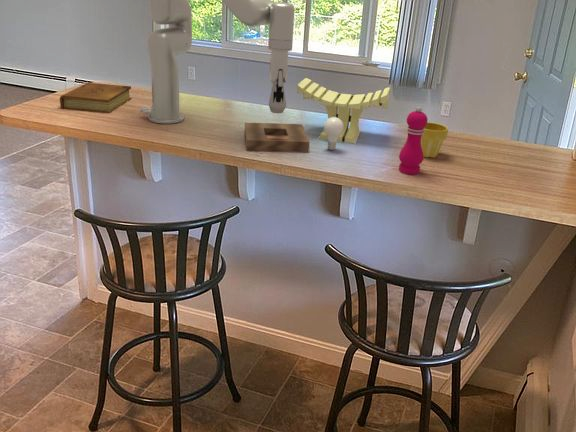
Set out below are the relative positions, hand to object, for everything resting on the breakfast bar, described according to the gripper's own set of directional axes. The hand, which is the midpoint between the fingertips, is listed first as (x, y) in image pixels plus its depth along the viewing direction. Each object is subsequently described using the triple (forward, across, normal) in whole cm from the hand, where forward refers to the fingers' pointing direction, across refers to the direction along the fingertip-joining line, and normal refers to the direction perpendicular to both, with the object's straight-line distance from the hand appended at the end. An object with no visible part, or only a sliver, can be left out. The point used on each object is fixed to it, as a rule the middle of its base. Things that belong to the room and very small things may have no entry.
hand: (277, 102), depth 188 cm
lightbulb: (+14, +7, +18) cm, 24 cm away
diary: (+14, -42, -66) cm, 80 cm away
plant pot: (+14, +9, +50) cm, 53 cm away
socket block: (+13, 0, 0) cm, 13 cm away
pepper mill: (+14, +25, +39) cm, 48 cm away
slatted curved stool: (+14, -10, +24) cm, 29 cm away
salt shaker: (+3, 0, 0) cm, 3 cm away
